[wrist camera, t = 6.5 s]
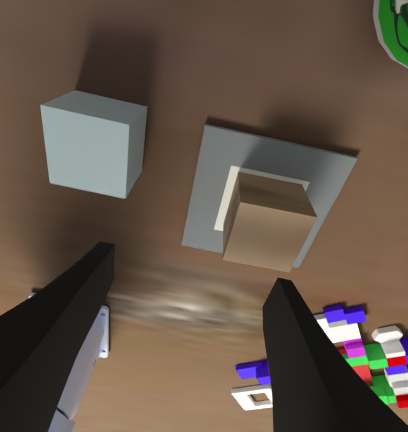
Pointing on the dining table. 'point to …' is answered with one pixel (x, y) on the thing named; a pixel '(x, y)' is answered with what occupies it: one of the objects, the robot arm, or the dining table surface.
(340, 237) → the dining table surface
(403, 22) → the soda can
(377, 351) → the building block set
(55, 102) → the pale grey cube
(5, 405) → the robot arm
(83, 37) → the dining table surface
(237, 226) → the walnut block
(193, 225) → the grey flat square plate
